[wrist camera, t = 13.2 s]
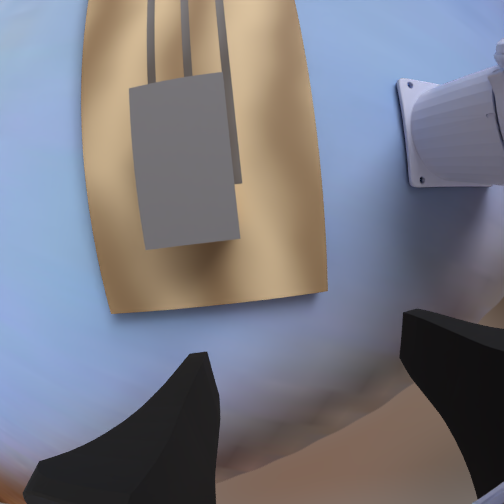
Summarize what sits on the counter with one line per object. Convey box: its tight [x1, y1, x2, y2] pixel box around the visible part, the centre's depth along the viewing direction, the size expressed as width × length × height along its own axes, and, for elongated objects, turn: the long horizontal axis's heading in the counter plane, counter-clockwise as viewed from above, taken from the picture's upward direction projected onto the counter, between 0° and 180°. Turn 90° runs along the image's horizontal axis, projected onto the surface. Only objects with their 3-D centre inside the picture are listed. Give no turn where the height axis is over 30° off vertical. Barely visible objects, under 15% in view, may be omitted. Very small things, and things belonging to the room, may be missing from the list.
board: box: [81, 0, 328, 314], centre depth 16 cm, size 14×26×2 cm, turn 6°
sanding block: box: [129, 72, 241, 250], centre depth 14 cm, size 4×7×5 cm, turn 6°
